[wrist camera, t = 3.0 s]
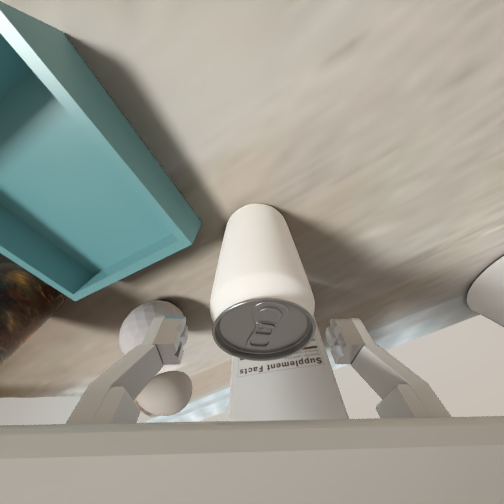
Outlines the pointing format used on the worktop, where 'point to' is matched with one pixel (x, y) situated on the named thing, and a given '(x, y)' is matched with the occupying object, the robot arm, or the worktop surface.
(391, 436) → the robot arm
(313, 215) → the worktop surface
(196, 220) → the bin
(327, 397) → the supplement box
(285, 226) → the can
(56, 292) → the jar
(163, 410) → the perfume bottle
